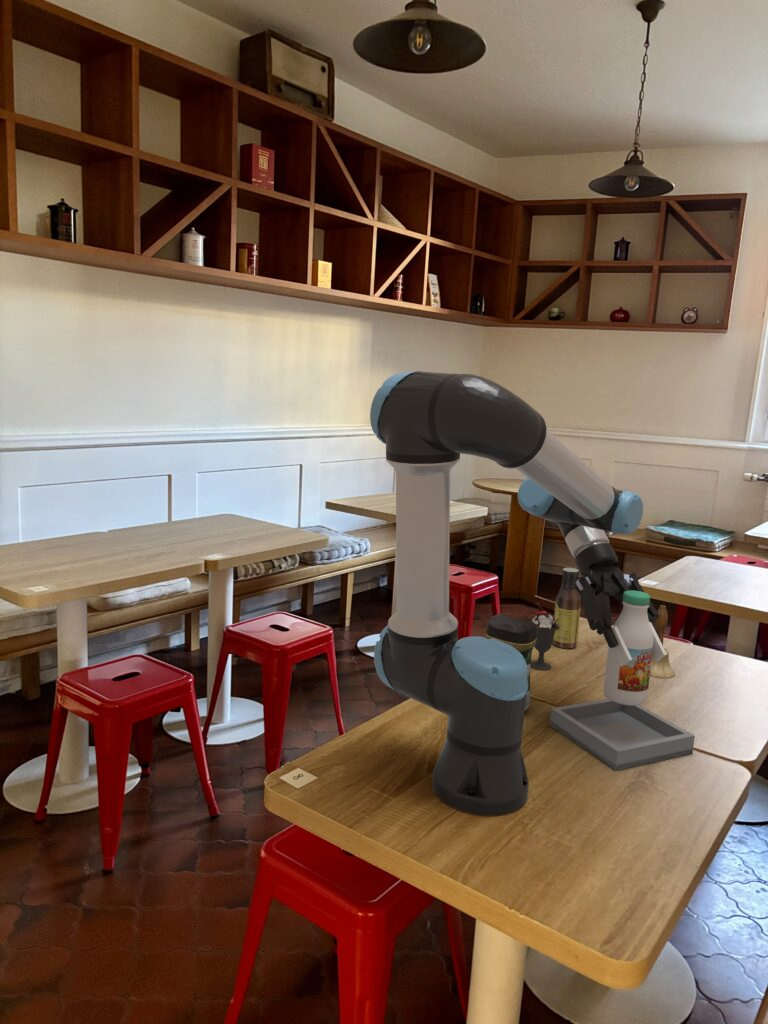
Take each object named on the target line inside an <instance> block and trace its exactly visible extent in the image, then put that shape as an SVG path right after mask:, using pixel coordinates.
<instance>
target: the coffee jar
mask: <svg viewBox="0 0 768 1024" xmlns="http://www.w3.org/2000/svg"><path fill="white" fill-rule="evenodd" d="M485 638H486V639H495V640H498V641H501V642H504V643H506V644H508V645H510V646H512V647H513V648H515V649H516V650H517V651H519V652H520V653H521V654H522V656H523V657H524V659H525V660H526V664H527V668H528V671H527V682H528V691H527V693H526V702H525V712H526V711H527V710H528V709H529V707H530V704H531V703H530V702H531V668H532V667H531V662H532V654H533V650H534V648H535V647H534V646H535V643H536V625H535V623H534V622H532V621H529V620H525V619H522V618H521V619H520V618H518V617H513V616H508V615H505V614H502V613H498V614H495V615H493V616H492V617H490V618H489V620H488V623H487V627H486V631H485Z"/></svg>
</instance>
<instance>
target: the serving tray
mask: <svg viewBox="0 0 768 1024" xmlns="http://www.w3.org/2000/svg"><path fill="white" fill-rule="evenodd" d="M549 726H550V728H551V727H552V728H553V729H555V730H556V731H557V732H558V733H560V734H561V735H563V736H564V737H566V738H567V739H569V740H570V741H572V742H573V743H574V744H576V745H577V746H579V747H581V748H582V749H584V750H585V752H586V751H587V752H588V753H589V754H591V755H592V756H593V757H595V758H596V759H598V760H599V761H601V762H602V763H604V764H606V765H607V766H608V767H609V768H611V769H612V770H614V771H615V772H616V771H617V772H618V771H620V770H625V769H631V768H635V767H639V766H644V765H648V764H652V763H657V762H661V761H666V760H670V759H675V758H680V757H683V756H688V755H693V754H694V753H693V752H694V746H695V745H694V744H695V738H696V735H695V734H693V733H691V732H689V731H687V730H686V729H684V728H682V727H680V726H678V725H676V724H675V723H673V722H671V721H669V719H666V718H664V717H662V716H660V715H659V714H657V713H655V712H653V711H651V710H650V709H648V708H645V707H644V706H642V704H641V705H634V706H632V705H624V704H619V703H616V702H613V701H611V700H609V699H608V698H604V699H597V700H592V701H586V702H580V703H573V704H569V705H568V704H567V705H563V706H555V707H551V708H550V718H549Z"/></svg>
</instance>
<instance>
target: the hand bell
mask: <svg viewBox="0 0 768 1024" xmlns="http://www.w3.org/2000/svg"><path fill="white" fill-rule="evenodd" d="M657 612H658V614H659V618H658V619H656V620H655V627H656V629H657V631H658V633H659V635H660V641H661V643H662V645H663V646H664V637H665V635H664V634H665V630H666V628H667V624H668V621H669V620H668V619H669V614H668V610H667V606H666V605H665V604H660V605H659V607H658V610H657ZM664 649H665V651H666V653H667V655H666V656H664V657H663V658H661V659H660V660H658V661H654V659H653V657H652V662H651V671H650V677H652V678H658V679H670V678H673V677H675V676H676V673H675V670H674V669H673V668H672V666H671V663H670V656H669V655H670V654H669V653H670V652H669V650H668V649H667V648H665V647H664Z"/></svg>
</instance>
